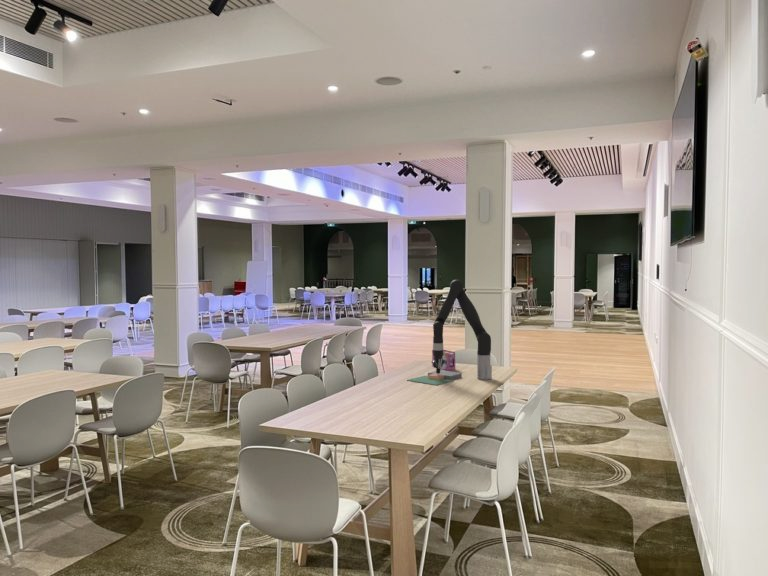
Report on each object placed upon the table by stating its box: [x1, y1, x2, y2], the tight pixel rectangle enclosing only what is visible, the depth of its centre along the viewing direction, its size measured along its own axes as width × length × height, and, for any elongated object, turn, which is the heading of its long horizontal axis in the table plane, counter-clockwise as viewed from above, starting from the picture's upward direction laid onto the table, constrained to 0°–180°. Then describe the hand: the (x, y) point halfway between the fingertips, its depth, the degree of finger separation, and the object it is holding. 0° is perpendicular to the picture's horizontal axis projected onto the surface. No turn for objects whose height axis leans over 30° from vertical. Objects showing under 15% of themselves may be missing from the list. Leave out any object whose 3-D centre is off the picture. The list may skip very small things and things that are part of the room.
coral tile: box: [427, 374, 444, 380], centre depth 405 cm, size 9×7×2 cm
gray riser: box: [427, 369, 463, 380], centre depth 413 cm, size 20×14×3 cm
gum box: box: [431, 349, 456, 371], centre depth 451 cm, size 24×8×14 cm, turn 27°
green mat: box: [406, 375, 455, 386], centre depth 400 cm, size 26×20×1 cm
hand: (438, 373), depth 407 cm, fingers closed
